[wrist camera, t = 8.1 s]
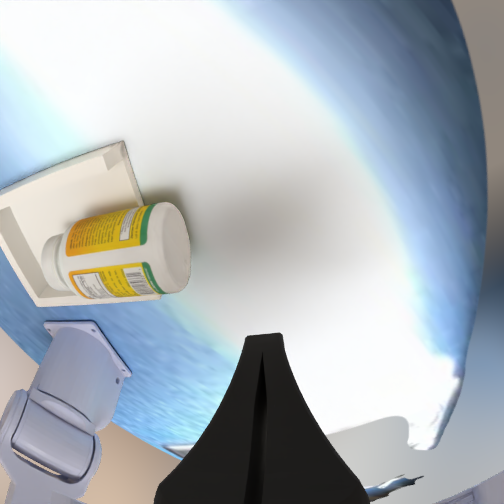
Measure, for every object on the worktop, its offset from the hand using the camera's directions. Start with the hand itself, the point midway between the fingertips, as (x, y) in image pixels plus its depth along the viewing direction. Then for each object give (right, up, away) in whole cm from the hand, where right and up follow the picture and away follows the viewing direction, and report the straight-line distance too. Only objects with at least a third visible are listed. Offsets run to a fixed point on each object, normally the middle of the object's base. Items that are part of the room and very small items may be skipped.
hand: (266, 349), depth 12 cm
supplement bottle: (-5, +4, +6) cm, 9 cm away
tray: (-14, +6, +9) cm, 17 cm away
